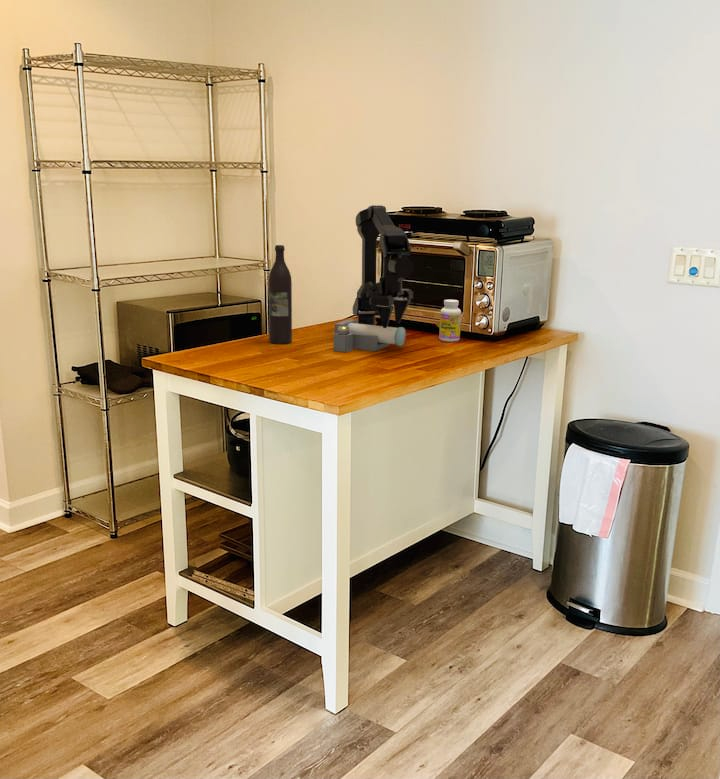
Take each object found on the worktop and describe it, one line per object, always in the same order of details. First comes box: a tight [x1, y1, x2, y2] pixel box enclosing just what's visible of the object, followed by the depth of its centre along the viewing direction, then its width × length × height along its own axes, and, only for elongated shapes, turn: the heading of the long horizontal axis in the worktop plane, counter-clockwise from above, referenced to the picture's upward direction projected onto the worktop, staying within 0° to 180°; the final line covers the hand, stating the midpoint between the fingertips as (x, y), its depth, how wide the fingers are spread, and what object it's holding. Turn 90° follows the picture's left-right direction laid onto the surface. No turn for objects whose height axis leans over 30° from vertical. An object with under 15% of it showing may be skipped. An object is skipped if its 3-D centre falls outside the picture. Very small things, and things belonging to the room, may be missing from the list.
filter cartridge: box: [348, 322, 406, 347], centre depth 247 cm, size 6×18×6 cm, turn 63°
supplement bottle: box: [438, 299, 462, 343], centre depth 260 cm, size 7×7×13 cm
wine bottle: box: [268, 244, 293, 345], centre depth 250 cm, size 7×7×30 cm
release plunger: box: [338, 326, 349, 335], centre depth 243 cm, size 3×3×6 cm
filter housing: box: [333, 318, 390, 353], centre depth 247 cm, size 16×14×7 cm
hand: (391, 325), depth 244 cm, fingers open, 9 cm apart
